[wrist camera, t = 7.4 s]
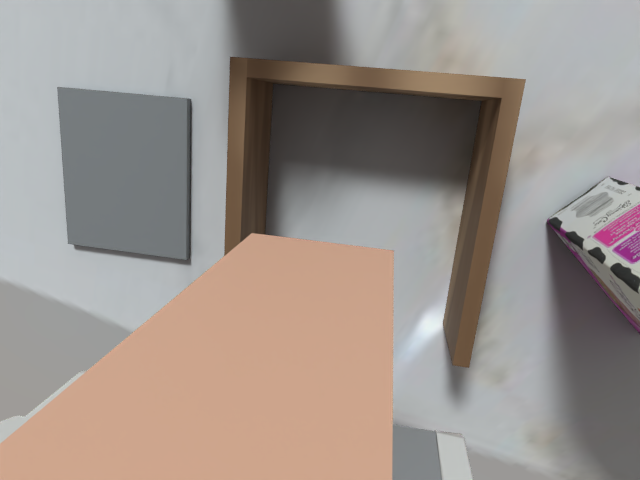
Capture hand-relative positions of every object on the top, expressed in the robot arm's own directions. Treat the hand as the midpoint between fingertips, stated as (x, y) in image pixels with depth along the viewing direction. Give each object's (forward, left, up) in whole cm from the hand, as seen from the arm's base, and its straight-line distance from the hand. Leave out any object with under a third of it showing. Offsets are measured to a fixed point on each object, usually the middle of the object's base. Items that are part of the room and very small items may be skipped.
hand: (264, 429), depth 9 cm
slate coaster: (+18, 0, -25) cm, 31 cm away
